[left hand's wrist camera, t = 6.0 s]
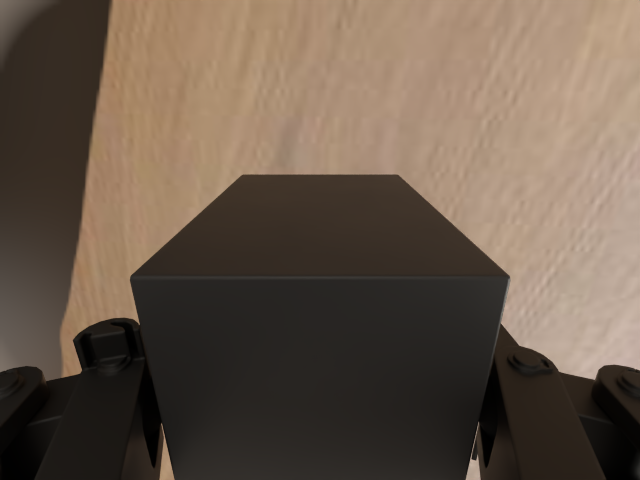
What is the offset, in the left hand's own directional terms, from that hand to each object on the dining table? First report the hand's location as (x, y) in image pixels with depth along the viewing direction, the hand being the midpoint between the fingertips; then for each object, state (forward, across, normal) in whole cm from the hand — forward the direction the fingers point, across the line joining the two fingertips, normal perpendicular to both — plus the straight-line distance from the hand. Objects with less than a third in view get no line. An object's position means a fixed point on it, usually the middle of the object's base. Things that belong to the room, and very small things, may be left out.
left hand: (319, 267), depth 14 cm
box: (+1, 0, -8) cm, 8 cm away
